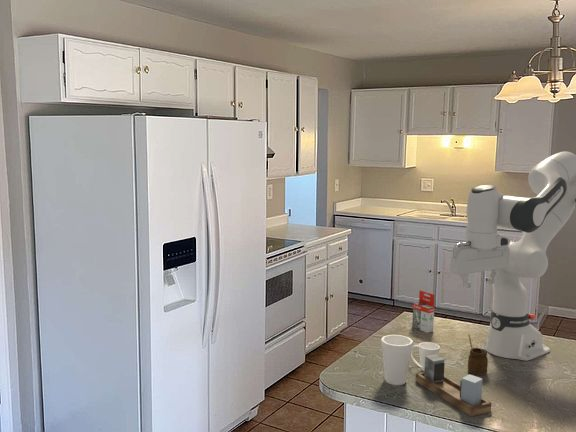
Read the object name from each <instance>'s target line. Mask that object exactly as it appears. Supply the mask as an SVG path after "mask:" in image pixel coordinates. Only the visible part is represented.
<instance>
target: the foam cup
mask: <svg viewBox="0 0 576 432" xmlns="http://www.w3.org/2000/svg"><path fill="white" fill-rule="evenodd" d="M380 344H381V345H380V346H381V353H382V363H383V373H384V381H385V382H386V383H388V384H389V385H393V386H401V385H402V386H403V385H404V384H405V383H406V382H407V378H408V372H409V368H410V362H411V351H412V352H413V350H414V348H413V346H414V341H413V339H412V338H410V337H408V336H405V335H401V334H388V335H384V336H382V337H381V339H380ZM412 349H413V350H412Z"/></svg>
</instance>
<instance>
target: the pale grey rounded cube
mask: <svg viewBox="0 0 576 432" xmlns="http://www.w3.org/2000/svg"><path fill="white" fill-rule="evenodd" d="M459 382H460V383H459V384H460V398H461V400H463V401H465V402H466V403H468V404H470V405H471V406H474V405H478V404H480V403H481V397H483V396H482V394H483V392H482V391H483V378H482V377H479V376H477V375H476V376H475V375H474V374H471V373H470V374H467V375H465V376H464V377H461V380H460V381H459Z"/></svg>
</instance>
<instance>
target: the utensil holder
mask: <svg viewBox="0 0 576 432" xmlns="http://www.w3.org/2000/svg"><path fill="white" fill-rule="evenodd" d="M468 340H469V344H470V350H469V355H468V359H467V371H468V372H469V373H470V374H471V375H476V376H482V375H486V374H487V372H488V364H489V363H488V362H489V361H488V351H487V349H485V348H482V347H483V345H480V348H479V347H473V344H472V339H471V335H470V334H468ZM486 340H487V339H486ZM486 340H484V341H481V344H484V345H486ZM484 342H485V343H484ZM487 342H489V341H488V340H487ZM487 347H489V346H487Z"/></svg>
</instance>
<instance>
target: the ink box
mask: <svg viewBox="0 0 576 432" xmlns="http://www.w3.org/2000/svg"><path fill="white" fill-rule="evenodd" d="M435 298H436V297H435V294H433V293H430V292H426V291H423V290H421V289H419V294H418V301H417V302H413V304H412V323H411V325H412V327H411V328H413V329H416V330H418V331H421V332H423V333H426V334H427V333H432V332H433V331H434V322H435Z"/></svg>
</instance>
